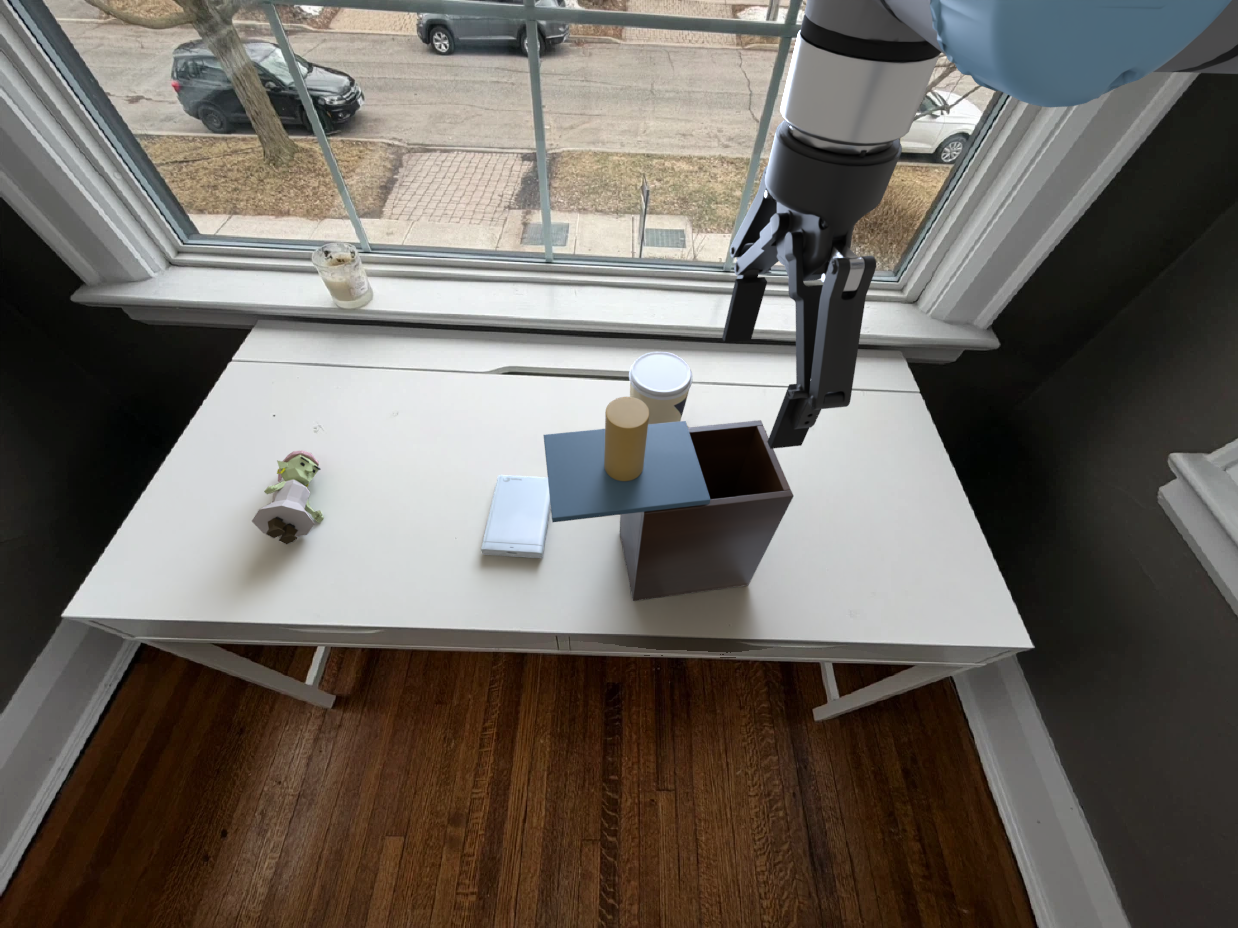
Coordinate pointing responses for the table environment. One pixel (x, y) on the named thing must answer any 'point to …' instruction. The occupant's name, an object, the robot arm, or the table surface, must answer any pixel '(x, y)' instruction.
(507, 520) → the hard drive
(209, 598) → the table surface
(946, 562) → the table surface
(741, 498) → the box
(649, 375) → the coffee cup
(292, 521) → the figurine
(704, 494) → the sliding lid
